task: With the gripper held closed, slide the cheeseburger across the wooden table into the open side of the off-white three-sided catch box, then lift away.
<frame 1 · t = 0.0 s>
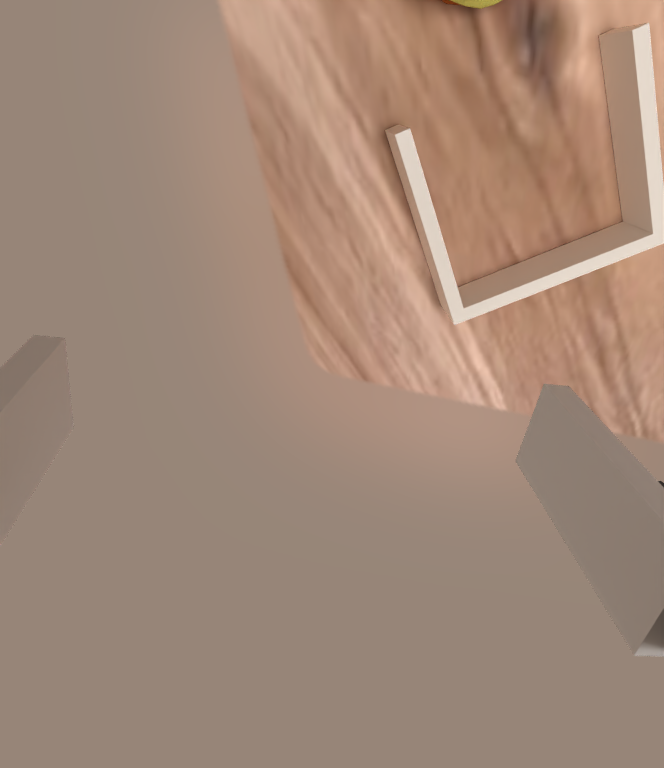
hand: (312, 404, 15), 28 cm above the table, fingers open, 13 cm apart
catch box: (516, 175, 40), on the table
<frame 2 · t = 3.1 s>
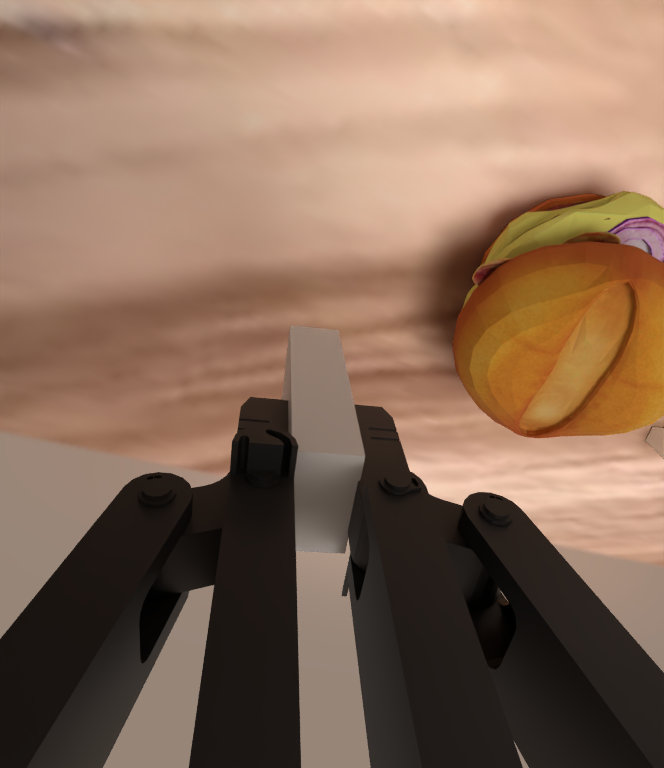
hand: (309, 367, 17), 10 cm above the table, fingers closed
cheeseburger: (542, 292, 28), on the table
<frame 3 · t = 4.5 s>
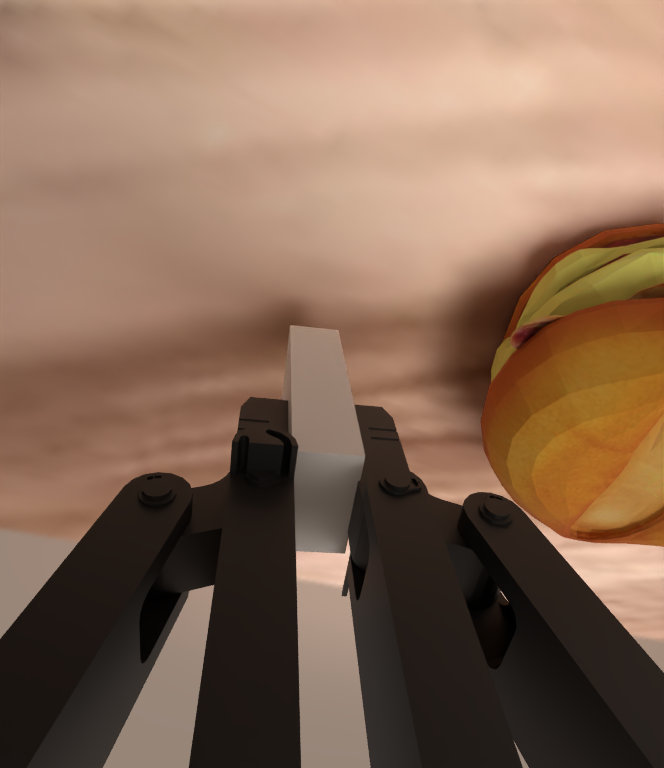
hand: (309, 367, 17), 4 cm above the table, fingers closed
cheeseburger: (589, 343, 22), on the table
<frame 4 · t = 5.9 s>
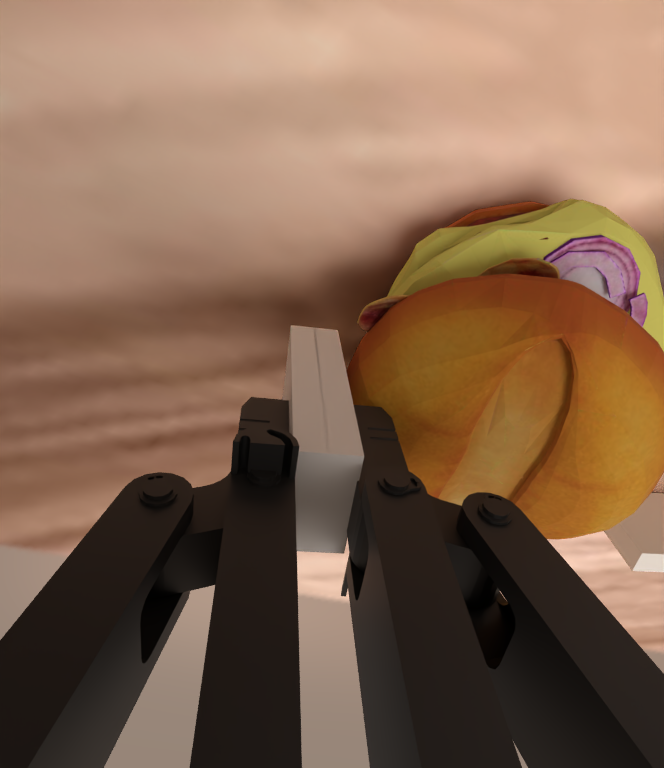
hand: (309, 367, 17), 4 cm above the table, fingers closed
cheeseburger: (478, 329, 21), on the table, touching gripper
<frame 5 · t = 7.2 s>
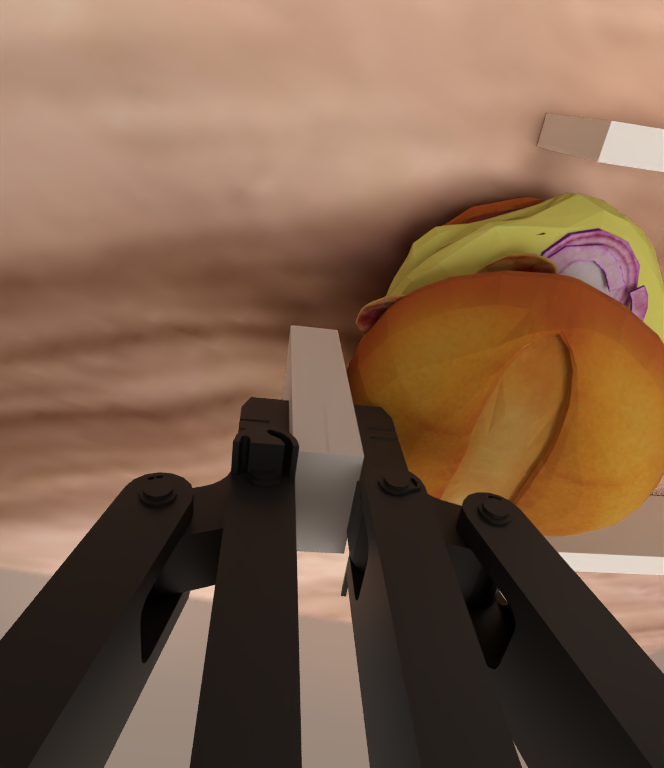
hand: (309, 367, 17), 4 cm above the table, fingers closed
cheeseburger: (480, 326, 21), on the table, touching gripper
catch box: (632, 355, 22), on the table
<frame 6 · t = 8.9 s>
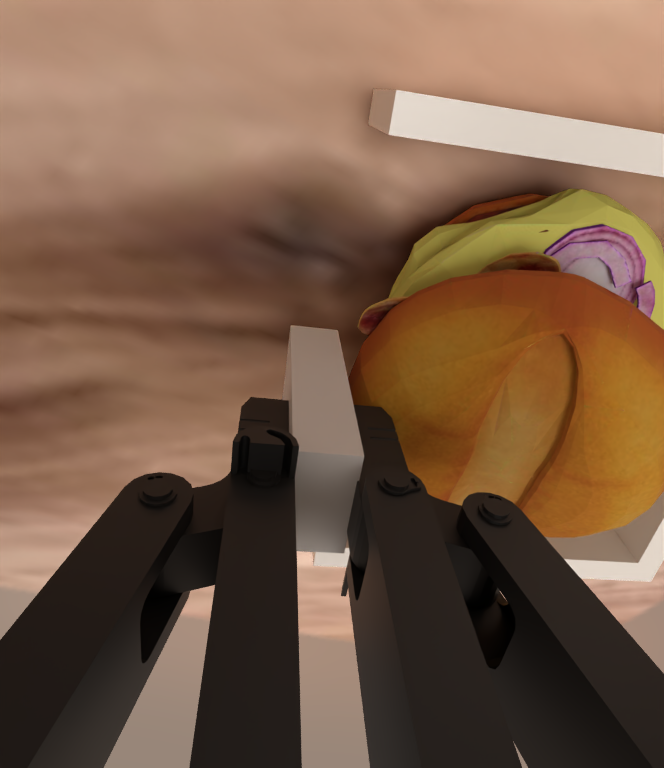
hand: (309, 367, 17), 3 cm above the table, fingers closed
cheeseburger: (485, 325, 21), on the table, touching gripper
catch box: (500, 346, 21), on the table
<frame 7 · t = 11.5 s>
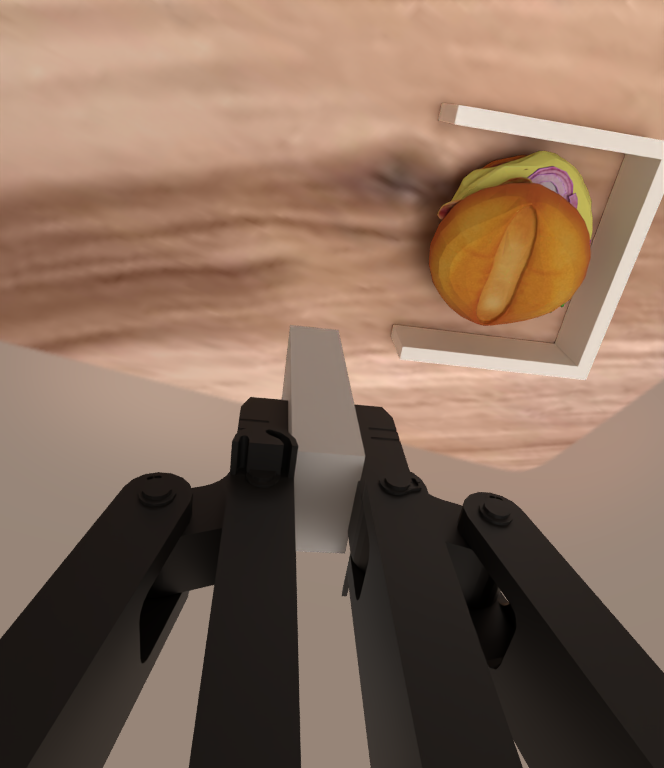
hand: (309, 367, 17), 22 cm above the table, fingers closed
cheeseburger: (496, 230, 39), on the table
catch box: (502, 243, 39), on the table
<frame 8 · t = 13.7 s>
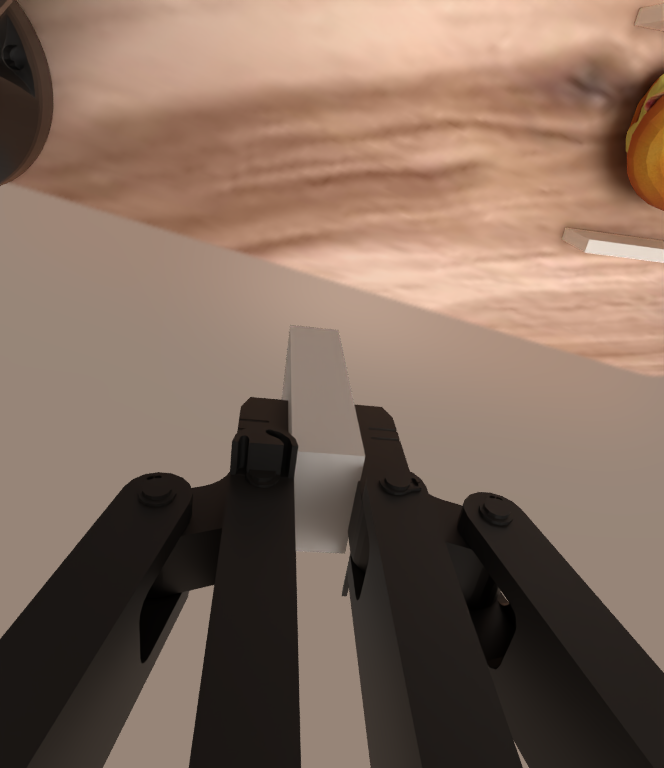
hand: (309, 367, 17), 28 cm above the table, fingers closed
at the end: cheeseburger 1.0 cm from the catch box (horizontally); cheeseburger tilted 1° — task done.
